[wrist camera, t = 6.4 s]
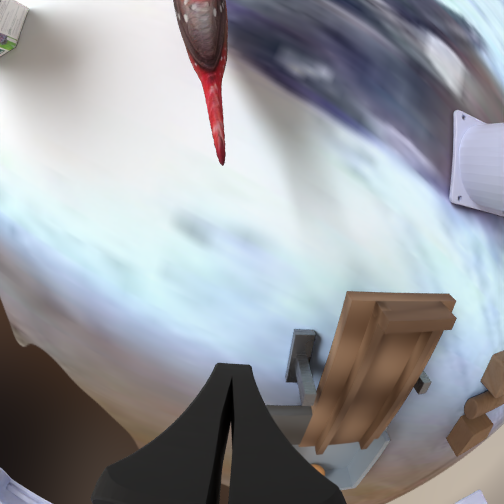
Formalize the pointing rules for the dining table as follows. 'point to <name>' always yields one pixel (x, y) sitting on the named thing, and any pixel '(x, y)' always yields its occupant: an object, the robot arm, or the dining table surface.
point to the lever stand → (302, 374)
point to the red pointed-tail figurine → (207, 55)
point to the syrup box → (10, 23)
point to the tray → (346, 460)
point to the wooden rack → (368, 368)
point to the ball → (319, 468)
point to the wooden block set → (479, 409)
